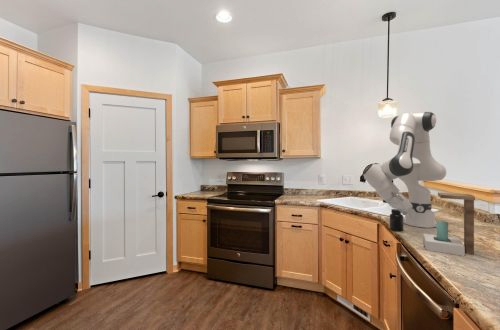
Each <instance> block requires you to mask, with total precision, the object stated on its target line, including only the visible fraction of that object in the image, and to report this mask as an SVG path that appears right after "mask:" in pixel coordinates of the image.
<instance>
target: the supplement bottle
mask: <svg viewBox="0 0 500 330" xmlns="http://www.w3.org/2000/svg"><path fill="white" fill-rule="evenodd" d="M403 220H404V215H403V214H402V213H401V212H400V211H399V210H398V209H395V208H391V213H390V214H389V230H390V231H393V232H400V233H401V232H403V231H404V228H405V227H404V223H403Z"/></svg>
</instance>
